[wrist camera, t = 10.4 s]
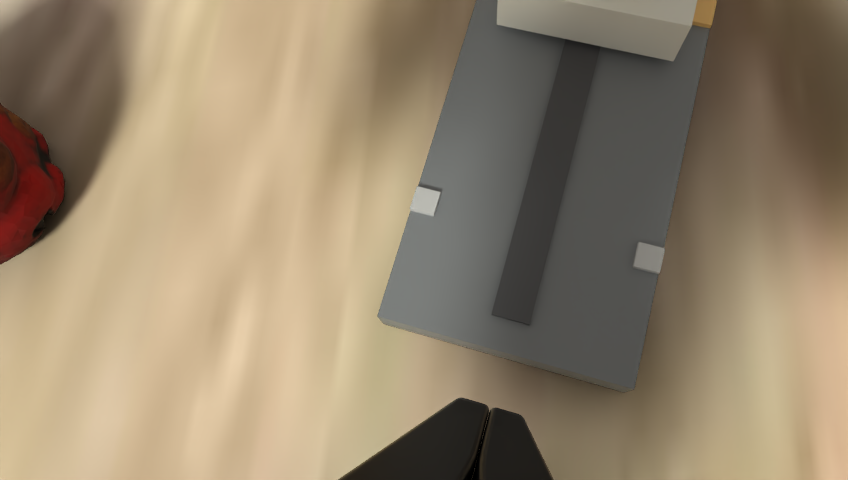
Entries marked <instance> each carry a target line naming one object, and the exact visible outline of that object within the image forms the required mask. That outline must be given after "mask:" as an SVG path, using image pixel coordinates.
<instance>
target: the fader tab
mask: <svg viewBox="0 0 848 480" xmlns="http://www.w3.org/2000/svg"><path fill="white" fill-rule="evenodd" d="M696 4H697V0H498V3H497V25H501V26H506V27H510V28H515V29H520V30H525V31H530V32H534V33H539V34H544V35H549V36H554V37H558V38H563V39H568V40H573V41H577V42H582V43H587V44H592V45H597V46H601V47H606V48H611V49H616V50H621V51H625V52H630V53H635V54H640V55H644V56H649V57H654V58H659V59H664V60H668V61H674V59H675V57H676V55H677V53H678V52H679V50H680V48H681V46H682V44H683V42H684V40H685V38H686V36H687V34H688V32H689V30H690V28H691V27H692V22H693V18H694V13H695V9H696Z"/></svg>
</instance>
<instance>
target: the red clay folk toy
mask: <svg viewBox="0 0 848 480" xmlns="http://www.w3.org/2000/svg"><path fill="white" fill-rule="evenodd" d="M64 188H65V181H64V179H63V173H62V172H61V171H60V169H59V168H58V167H57V166H55V165H54V164H52V163H51V161H50V158H49V150H48V145H47V143H46V141H45V139H44V137H43V135H42V134H41V133H39V132H38V131H37V130H35V129H34V128H31V127H30V125H29V124H27V123H26V122H25V121H23V120H22V119H21V118H20V117H18V116H17V115H15V114H14V113H12V112H11V111H9V110H7V109H6V108H4V107H3V106H2V105H1V103H0V264H2V263H4V262H6V261H8V260H10V259H11V258H13V257H15V256H16V255H18V254H21V253H22V252H23V251H24V250H25V249H27V248H28V247H30V246H32V245H33V244H34V243H35V242H36V241H37V239H38V238H39V237H40V236H41V235H42V233H43V231H44V229H45V228H44V221H43V219H44V216H45V215H46V214H50V215H53V214H55V212H56V210H57V209H58V207H59V205H60V204H61V202H62V201H63V198H64Z"/></svg>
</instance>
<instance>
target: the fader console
mask: <svg viewBox="0 0 848 480" xmlns="http://www.w3.org/2000/svg"><path fill="white" fill-rule="evenodd" d="M497 3H498V0H476V3H475V7H474V10H473V13H472V16H471V19H470V23H469V26H468V29H467V32H466V35H465V39H464V42H463V45H462V48H461V51H460V54H459V58H458V61H457V64H456V67H455V70H454V74H453V77H452V80H451V83H450V86H449V90H448V93H447V96H446V99H445V102H444V105H443V109H442V112H441V115H440V118H439V121H438V125H437V128H436V131H435V134H434V137H433V140H432V144H431V147H430V150H429V153H428V156H427V160H426V163H425V166H424V169H423V172H422V176H421V179H420V182H419V185H418V186H417V188H416V191H415V194H414V197H413V200H412V204H411V207H410V214H409V217H408V220H407V223H406V227H405V230H404V233H403V236H402V239H401V242H400V246H399V249H398V252H397V255H396V258H395V262H394V265H393V268H392V271H391V274H390V278H389V281H388V284H387V287H386V290H385V293H384V297H383V300H382V303H381V306H380V309H379V313H378V316H377V317H378V318H379V319H380V320H381V321H382V322H383V324H386V325H389V326H393V327H396V328H400V329H403V330H407V331H410V332H414V333H417V334H421V335H424V336H428V337H431V338H435V339H438V340H442V341H445V342H449V343H452V344H456V345H459V346H463V347H466V348H470V349H473V350H477V351H480V352H484V353H487V354H491V355H494V356H498V357H501V358H505V359H508V360H512V361H515V362H519V363H523V364H526V365H530V366H533V367H537V368H540V369H544V370H547V371H551V372H554V373H558V374H561V375H565V376H568V377H572V378H575V379H579V380H582V381H586V382H589V383H593V384H596V385H600V386H603V387H607V388H610V389H614V390H617V391H621V392H627V391H630V390H634V388H635V383H636V379H637V374H638V369H639V364H640V360H641V355H642V350H643V345H644V340H645V336H646V331H647V326H648V321H649V317H650V312H651V307H652V302H653V298H654V293H655V288H656V283H657V278H658V274H659V273H660V271H661V266H662V261H663V256H664V252H665V248H664V245H665V240H666V236H667V231H668V226H669V221H670V216H671V212H672V207H673V202H674V197H675V193H676V188H677V183H678V178H679V174H680V169H681V164H682V159H683V154H684V150H685V145H686V140H687V135H688V131H689V126H690V121H691V116H692V112H693V107H694V102H695V97H696V92H697V88H698V83H699V78H700V73H701V69H702V64H703V59H704V54H705V50H706V45H707V40H708V35H709V31H710V27H711V26H712V22H713V17H714V12H715V8H716V3H717V0H697V4H696V9H695V13H694V18H693V22H692V27H691V28H690V30H689V32H688V34H687V36H686V38H685V40H684V42H683V44H682V46H681V48H680V50H679V52H678V53H677V55H676V57H675V59H674V61H668V60H664V59H659V58H654V57H649V56H644V55H640V54H635V53H630V52H625V51H621V50H616V49H611V48H606V47H601V46H597V45H592V44H587V43H582V42H577V41H573V40H568V39H563V38H558V37H554V36H549V35H544V34H539V33H534V32H530V31H525V30H520V29H515V28H510V27H506V26H501V25H497Z"/></svg>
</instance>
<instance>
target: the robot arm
mask: <svg viewBox="0 0 848 480" xmlns="http://www.w3.org/2000/svg"><path fill="white" fill-rule="evenodd" d="M488 414H489V415H488ZM487 417H488V419H487ZM486 421H487V423H486ZM485 425H486V427H485ZM484 429H485V430H484ZM483 433H484V434H483ZM482 437H483V438H482ZM481 441H482V442H481ZM480 445H481V446H480ZM479 449H480V450H479ZM474 468H475V469H474ZM473 472H474V473H473ZM472 476H473V477H472ZM338 480H553V478H552V475H551V473H550V471H549V469H548V467H547V465H546V463H545V461H544V459H543V457H542V455H541V453H540V451H539V449H538V447H537V445H536V443H535V441H534V438H533V436H532V434H531V432H530V430H529V428H528V426H527V424H526V422H525V420H524V418H523V417H522V416H521V415H519V414H516V413H513V412H509V411H506V410H503V409H499V408H492V409H491V410H490V412H489V408H488V407H487V405H485V404H482V403H479V402H475V401H472V400H468V399H465V398H458V399H456V400H454V401H453V402H451V403H450V404H448V405H447V406H445V407H444V408H442V409H441V410H440V411H438V412H437V413H435V414H434V415H432V416H431V417H429V418H428V419H426V420H425V421H423V422H422V423H420V424H419V425H418V426H416V427H415V428H413V429H412V430H410V431H409V432H407V433H406V434H404V435H403V436H401V437H400V438H398V439H397V440H396V441H394V442H393V443H391V444H390V445H388V446H387V447H385V448H384V449H382V450H381V451H379V452H378V453H376V454H375V455H373V456H372V457H371V458H369V459H368V460H366V461H365V462H363V463H362V464H360V465H359V466H357V467H356V468H354V469H353V470H351V471H350V472H349V473H347V474H346V475H344V476H343V477H341V478H340V479H338Z"/></svg>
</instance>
